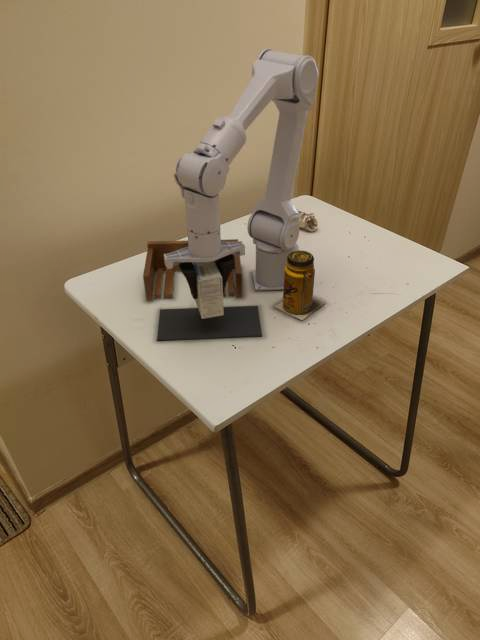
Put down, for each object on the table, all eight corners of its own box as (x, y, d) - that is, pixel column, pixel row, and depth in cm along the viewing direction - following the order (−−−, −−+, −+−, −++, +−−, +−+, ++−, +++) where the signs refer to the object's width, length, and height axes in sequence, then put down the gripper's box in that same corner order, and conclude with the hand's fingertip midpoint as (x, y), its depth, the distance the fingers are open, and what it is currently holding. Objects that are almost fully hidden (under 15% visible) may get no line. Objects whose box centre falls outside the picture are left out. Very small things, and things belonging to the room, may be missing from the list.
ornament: (324, 227, 133) (326, 214, 131) (307, 235, 129) (308, 221, 127) (303, 217, 137) (304, 204, 135) (285, 224, 134) (286, 211, 131)
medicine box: (224, 316, 94) (223, 276, 89) (200, 319, 93) (198, 279, 88) (214, 294, 100) (213, 255, 94) (192, 297, 99) (189, 258, 93)
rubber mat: (257, 307, 104) (257, 305, 104) (262, 336, 96) (262, 335, 96) (160, 310, 102) (160, 309, 102) (157, 341, 94) (156, 339, 94)
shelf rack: (238, 266, 116) (238, 239, 112) (242, 297, 107) (241, 268, 102) (151, 269, 114) (147, 241, 110) (146, 301, 105) (142, 271, 100)
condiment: (274, 307, 104) (276, 256, 96) (298, 291, 109) (302, 241, 101) (301, 321, 101) (306, 269, 93) (326, 303, 106) (332, 253, 98)
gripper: (235, 211, 91) (236, 276, 100) (156, 223, 86) (165, 290, 95) (249, 228, 86) (249, 294, 95) (166, 241, 81) (174, 309, 90)
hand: (207, 293), depth 95 cm, fingers closed on medicine box, 4 cm apart
